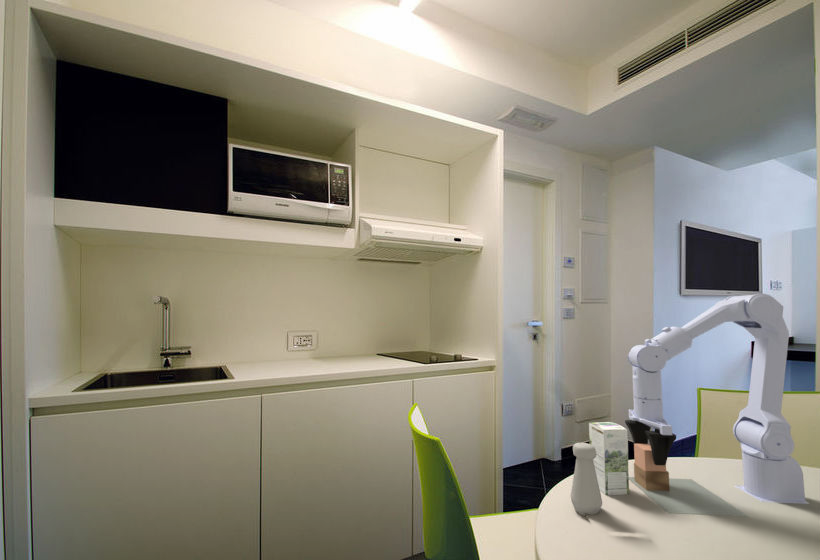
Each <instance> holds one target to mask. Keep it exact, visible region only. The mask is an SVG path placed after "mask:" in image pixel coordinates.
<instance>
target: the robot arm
mask: <svg viewBox="0 0 820 560" xmlns="http://www.w3.org/2000/svg"><path fill="white" fill-rule="evenodd" d="M783 315H784V305H782V303H781V302H779V301H778V300H777V299H776V298H775V297H773V296H772V295H770V294H767V293H755V294H746V295H730V296H728V297H726V298H725V299H723V300H720V301H718V302H716V303H715V304H713V306H711V307H710V308H707V310H705V311H704V312H702V313H701V314H699V315H698V316H696V317H695V318H693V319H692V320H690V321H688V322H687V323H686V324H684V325H682V326H681V327H679V326H671V327H669V326H665V327H663V328H662V329H661V331H662V332H660V333H659V334H657V335H656V336H654V337H652V338H651V339H650V338H646V339H645V340H644V344H637V345H636V344H635V346H633V347H632V348H631V349H630V351H629V352H628V355H627V356H626V358H627V362H628V363H629V365H630V366H631V367H632V394H633V395H632V396H633V398H632V399H633V409H632V408H631V409H628V418H629V419H626V420H624V423H625V425H626V426H627V428H628V430H629V432H630V436H631V438H632V441H633V442H632V443H633V445H634V444H650V446H651V450H652V457H653V461H654V464H655V465H666V466H667V462H668V456H669V453H670V450H671V447H672V445H673V444H674V443H675V441H676V440H677V435H676V434H675V433H673V425H671V424H669V423H668V422H667V420H666V419H664V410H663V408H664V406H663V392H662V391H663V390H662V389H663V387H662V371H661V370H663V369H664V368H665V366H666V363H667V362H669V361H670V360H672V359H673V358H675V357H677V356H678V355H680V354H681V353H683V352H685V351H687V350H688V349H691V347H692V345H693V340H694V339H696V338H698V337H700V336H701V335H704V334H705V333H707V332H710V330H713V329H714V328H717V327H719V326H720V325H722V324H724V323H729V322H730V323H734V324H735V325H737V326H740V327H742V328H744V329H745V330H746V331H747V332H748V333H749V334H751V336H752V337H754V345H753V354H752V355H753V356H752V363H751V371H750V372H751V373H750V381H749V391H748V400H747V405H746V407H744V408H742V409H741V410H740V411H739V415H738V418H737V420H736V421H735V423H734V424H733V427H732V433H733V436H734V438H735V439H736V440H737V442H739V444H740V448H741V459H742V474H743V475H742V476H743V484H742V485H741V484H735V485H733V487H735V488H736V489H738V490H740V491H742V492H744V493H746V494H748V495H749V496H751V497H752V498H754V499H756V500H757V501H759V502H761V503H781V504H783V503H784V504H808V505H810V502H808V501H806V493H805V480H804V473H803V469H802V466H801V465H800V463H799V462H798V460H796V459H795V458H794V457H792V456H791V455H792V454H793V452H794V450H795V442H794V439H793V436H792V434H791V431H792V430H791V427H792V426H791V424H790V423H789V422H788V421H787V419H786V418H785V416H783V414H782V405H783V397H784V388H785V387H784V386H785V376H786V366H787V358H788V349H789V348H788V347H789V338H790V337H789V336H790V334H789V332H790V331H789V329H788V327H787V324H786V321H785V320H784V319H785V318H784V317H783ZM651 429H654V430H651Z"/></svg>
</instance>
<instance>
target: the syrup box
mask: <svg viewBox="0 0 820 560" xmlns="http://www.w3.org/2000/svg"><path fill="white" fill-rule="evenodd" d="M588 435H589V436H588V437H589V438H588V439H589V441H588V442H589V443H588V444H591V445H592V446H594V447H595V449H596V458H594V459H593V461H594V466H595V471H596V475H597V480H598V484H599V489H600V493H602V494H603V495H604V496H615V495H629V494H630V483H629V481H630V480H629V477H630V476H629V442H628V439H629V438H628V429H627V428H626V427H624V426H622V425H620V424H618V423H615V422H612V421H606V422H605V421H604V422H603V421H602V422H589V423H588Z"/></svg>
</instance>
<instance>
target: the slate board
mask: <svg viewBox="0 0 820 560" xmlns="http://www.w3.org/2000/svg"><path fill="white" fill-rule="evenodd" d="M629 481H630V482H631V483H632V484H633V485H635V487H636V488H638V489H639V490H640V491H642V492H643V493H644V494H645V495H647V497H648V498H650V499H651V500H652V501H653V502H655V504H657V505H658V506H659V507H661V508H662V509H663V510H664V511H665V512H667V513H668V514H674V515H675V514H678V515H679V514H680V515H704V516H706V515H708V516H729V517H731V516H732V517H749V515H748V514H746V513H745V512H744V511H742V510H740V508H737V507H735V506H734V505H733V504H731V503H729V502H728V501H726V500H725V499H723V498H722V497H720V496H718V495H717V494H715V493H713V492H712V491H711V490H710V489H707V488H706V487H704V485H703V486H702V485H701V484H700V483H699V482H697V481H695V480H693V479H692V478H691V479H690V478H670V477H669V488H670V491H654V490H645V489H644V488H643V487H642V486H640V485H639V484H638V483H637V482H636V481H635V479H634V476H629Z"/></svg>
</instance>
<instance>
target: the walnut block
mask: <svg viewBox="0 0 820 560" xmlns="http://www.w3.org/2000/svg"><path fill="white" fill-rule="evenodd" d="M633 473H634V474H633V477H634V479H635V481H636V482H637V483H638V484H639V485H640V486H642V487H643V488H644V489H645V490H654V491H670V488H669V478H670V472H669V471H668V470H666V472H659V471H645V470H643V469H642V468H640V467H639V466H638V465H636V464H635V462H634V463H633Z"/></svg>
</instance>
